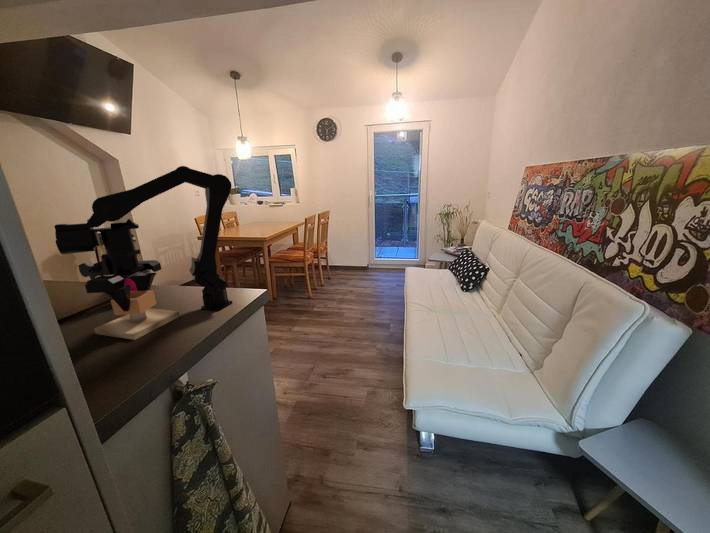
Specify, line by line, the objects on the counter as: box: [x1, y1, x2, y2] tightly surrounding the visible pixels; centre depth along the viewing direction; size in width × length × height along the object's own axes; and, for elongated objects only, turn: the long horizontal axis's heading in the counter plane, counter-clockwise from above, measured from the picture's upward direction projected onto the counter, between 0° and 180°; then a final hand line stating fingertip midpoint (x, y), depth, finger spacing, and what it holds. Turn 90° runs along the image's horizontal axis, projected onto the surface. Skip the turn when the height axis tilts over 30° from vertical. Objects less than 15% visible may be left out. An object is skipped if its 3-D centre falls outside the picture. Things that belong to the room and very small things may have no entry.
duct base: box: [94, 296, 181, 341], centre depth 74 cm, size 13×13×8 cm
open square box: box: [110, 289, 157, 316], centre depth 73 cm, size 6×6×4 cm
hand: (135, 305), depth 73 cm, fingers closed on open square box, 6 cm apart
